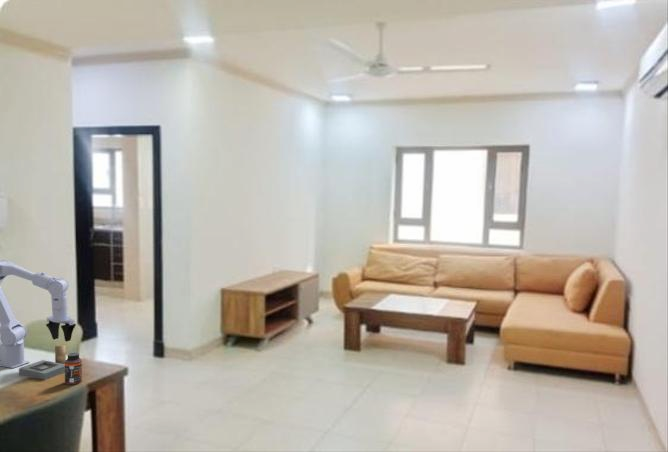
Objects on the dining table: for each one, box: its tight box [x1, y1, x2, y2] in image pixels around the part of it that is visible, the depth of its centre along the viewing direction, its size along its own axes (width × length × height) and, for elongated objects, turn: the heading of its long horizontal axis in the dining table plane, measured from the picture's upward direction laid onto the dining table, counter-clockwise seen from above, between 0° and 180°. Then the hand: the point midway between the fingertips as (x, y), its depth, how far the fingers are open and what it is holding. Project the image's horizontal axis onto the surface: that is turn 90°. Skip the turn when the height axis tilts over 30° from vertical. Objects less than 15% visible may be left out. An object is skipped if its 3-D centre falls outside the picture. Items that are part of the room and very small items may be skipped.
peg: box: [54, 344, 67, 364], centre depth 226 cm, size 4×4×8 cm
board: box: [18, 359, 65, 381], centre depth 216 cm, size 14×11×3 cm
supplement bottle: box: [64, 352, 83, 386], centre depth 206 cm, size 6×6×11 cm
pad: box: [37, 365, 50, 369], centre depth 216 cm, size 5×5×1 cm
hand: (61, 339), depth 225 cm, fingers open, 7 cm apart
